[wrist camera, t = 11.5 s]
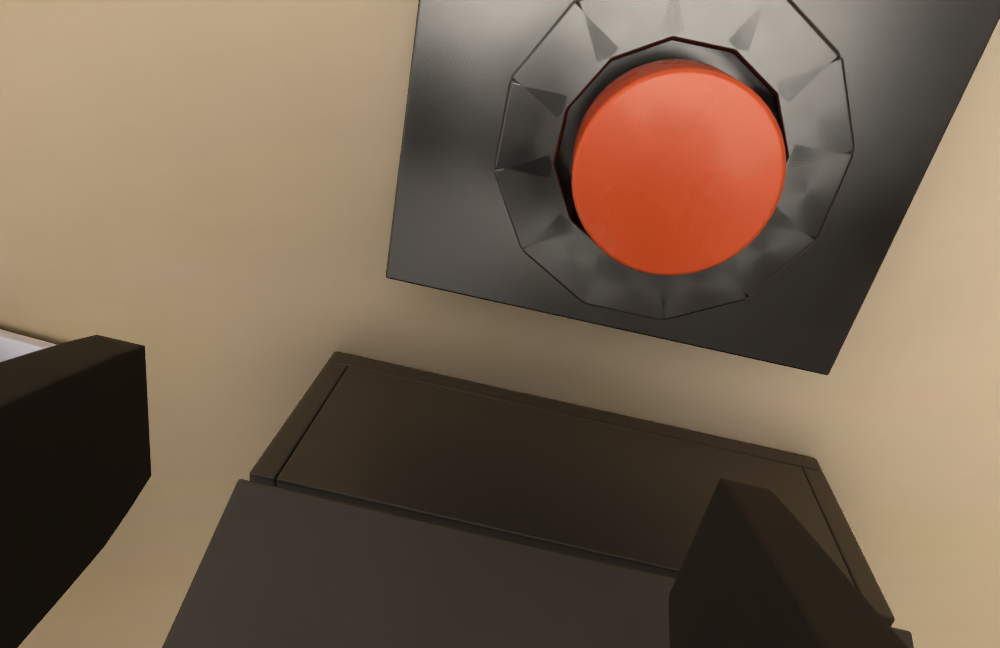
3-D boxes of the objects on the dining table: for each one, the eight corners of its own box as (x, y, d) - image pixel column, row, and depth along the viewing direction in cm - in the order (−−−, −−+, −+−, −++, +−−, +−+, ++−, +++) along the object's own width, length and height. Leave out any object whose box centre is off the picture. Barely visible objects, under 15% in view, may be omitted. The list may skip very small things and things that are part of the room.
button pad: (808, 343, 18) (854, 418, 15) (402, 254, 18) (363, 309, 15) (980, -37, 14) (1094, -45, 11) (454, -147, 14) (416, -185, 11)
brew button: (726, 261, 14) (743, 296, 12) (554, 224, 14) (551, 253, 12) (792, 81, 12) (822, 93, 11) (599, 39, 12) (600, 46, 11)
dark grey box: (694, 701, 24) (721, 883, 19) (311, 613, 25) (241, 770, 20) (816, 458, 19) (896, 620, 14) (334, 350, 20) (248, 472, 15)
